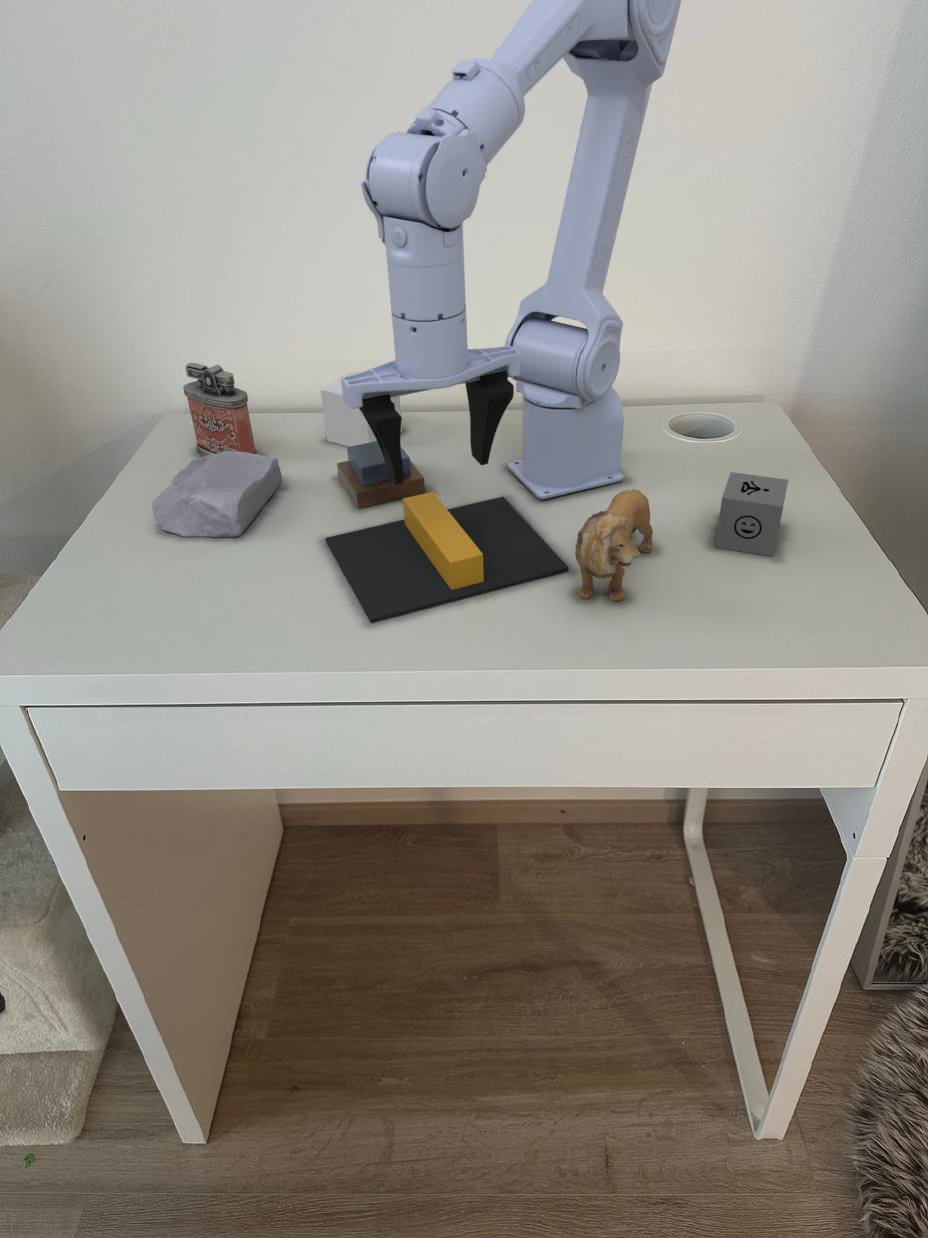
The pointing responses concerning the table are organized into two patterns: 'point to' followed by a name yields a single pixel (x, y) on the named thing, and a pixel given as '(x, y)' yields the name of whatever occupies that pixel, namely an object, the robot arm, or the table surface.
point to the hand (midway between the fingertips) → (438, 469)
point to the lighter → (218, 411)
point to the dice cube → (751, 513)
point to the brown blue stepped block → (376, 476)
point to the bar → (443, 541)
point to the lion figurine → (613, 542)
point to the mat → (408, 581)
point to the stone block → (217, 494)
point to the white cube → (346, 417)
